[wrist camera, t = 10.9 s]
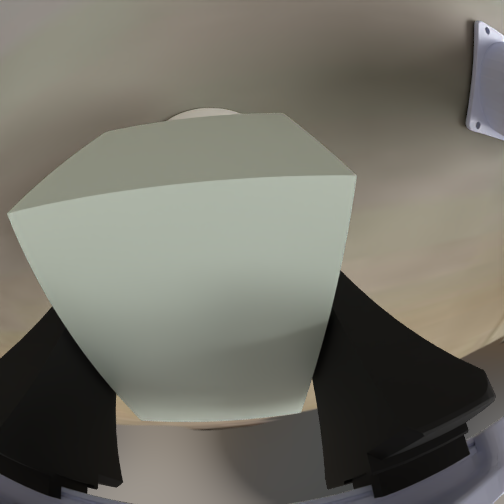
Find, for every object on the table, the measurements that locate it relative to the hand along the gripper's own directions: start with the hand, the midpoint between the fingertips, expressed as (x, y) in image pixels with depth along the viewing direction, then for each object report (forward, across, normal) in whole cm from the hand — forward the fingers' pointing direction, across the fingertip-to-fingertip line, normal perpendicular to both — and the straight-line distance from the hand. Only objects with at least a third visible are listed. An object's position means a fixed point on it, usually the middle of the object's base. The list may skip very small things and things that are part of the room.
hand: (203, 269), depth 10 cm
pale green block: (+2, 0, 0) cm, 2 cm away
